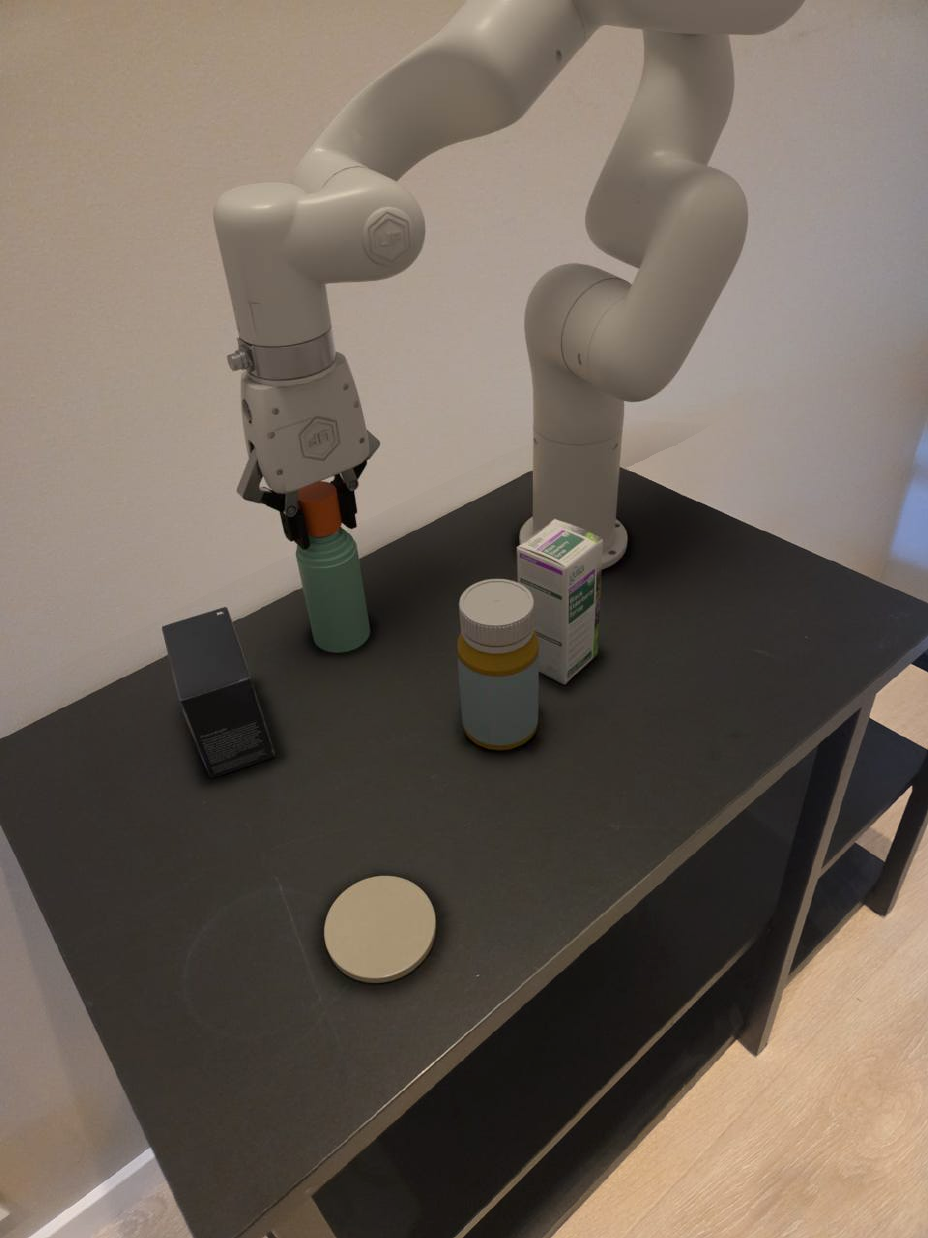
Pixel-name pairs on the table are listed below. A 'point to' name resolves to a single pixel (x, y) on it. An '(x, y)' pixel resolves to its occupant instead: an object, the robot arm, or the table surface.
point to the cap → (320, 508)
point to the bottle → (498, 664)
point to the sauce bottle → (334, 592)
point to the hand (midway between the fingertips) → (322, 530)
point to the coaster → (380, 929)
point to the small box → (217, 692)
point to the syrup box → (563, 595)
